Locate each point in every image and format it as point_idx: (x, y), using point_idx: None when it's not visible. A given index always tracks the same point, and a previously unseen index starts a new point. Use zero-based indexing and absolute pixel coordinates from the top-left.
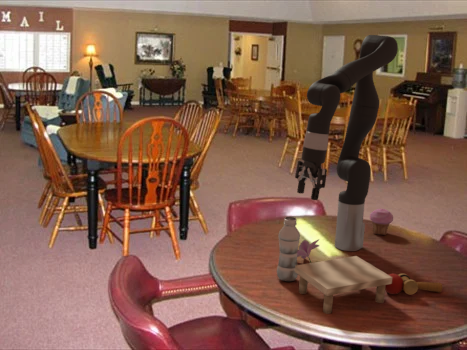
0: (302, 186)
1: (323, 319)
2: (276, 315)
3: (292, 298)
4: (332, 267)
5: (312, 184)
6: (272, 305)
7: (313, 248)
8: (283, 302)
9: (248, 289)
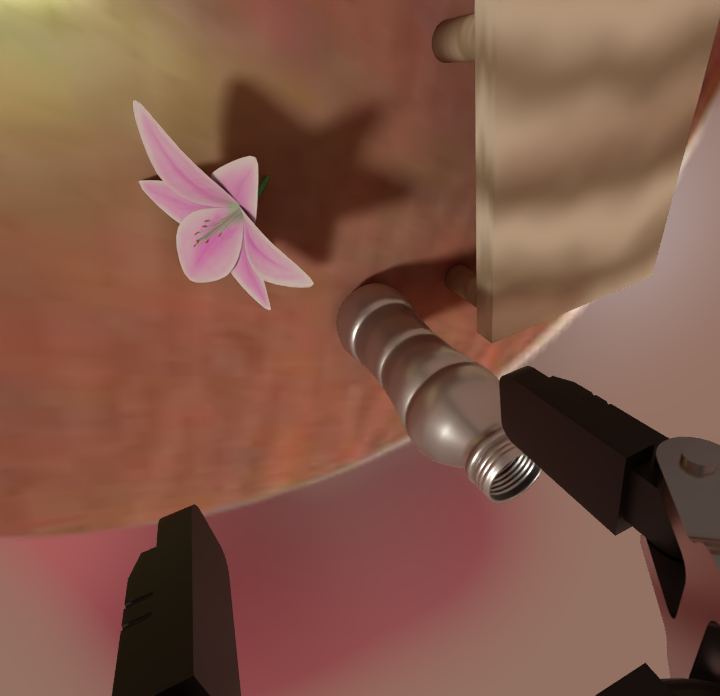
0: (212, 621)
1: None
2: (530, 358)
3: None
4: (556, 205)
5: (655, 588)
6: (491, 364)
7: (152, 148)
8: None
9: None
